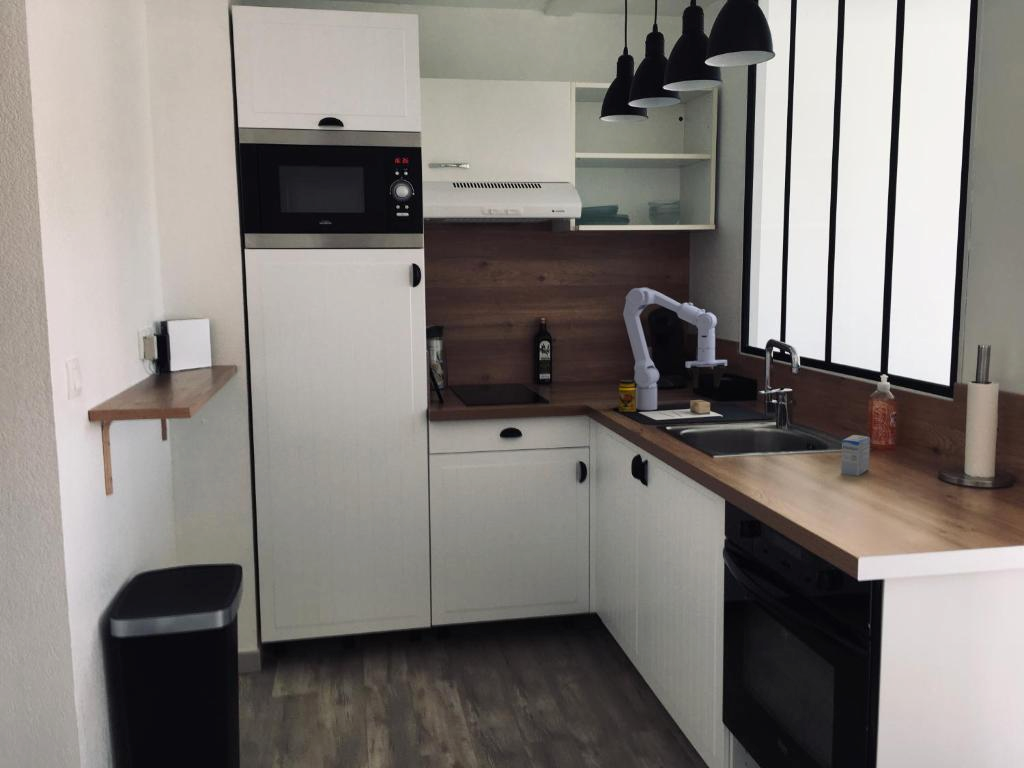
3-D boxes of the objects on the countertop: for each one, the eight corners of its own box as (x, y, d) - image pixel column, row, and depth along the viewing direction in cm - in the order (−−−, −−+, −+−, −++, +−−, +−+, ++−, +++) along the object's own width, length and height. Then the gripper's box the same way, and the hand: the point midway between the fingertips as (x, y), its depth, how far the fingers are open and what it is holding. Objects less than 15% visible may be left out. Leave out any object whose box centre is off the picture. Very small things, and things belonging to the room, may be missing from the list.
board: (638, 415, 311) (638, 412, 311) (702, 411, 317) (702, 408, 317) (656, 423, 296) (656, 419, 296) (722, 418, 301) (722, 415, 301)
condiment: (622, 416, 312) (622, 382, 310) (612, 412, 320) (612, 379, 318) (641, 414, 314) (641, 380, 312) (631, 411, 322) (631, 378, 320)
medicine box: (851, 468, 228) (852, 434, 226) (869, 470, 225) (870, 436, 224) (840, 474, 222) (841, 439, 220) (858, 476, 219) (859, 441, 218)
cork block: (690, 411, 310) (690, 400, 309) (701, 411, 311) (701, 399, 310) (699, 415, 303) (699, 403, 302) (710, 414, 304) (710, 402, 303)
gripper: (691, 350, 301) (691, 390, 302) (731, 348, 304) (731, 387, 306) (683, 348, 308) (683, 387, 309) (722, 346, 311) (721, 385, 312)
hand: (706, 387), depth 308 cm, fingers open, 7 cm apart
